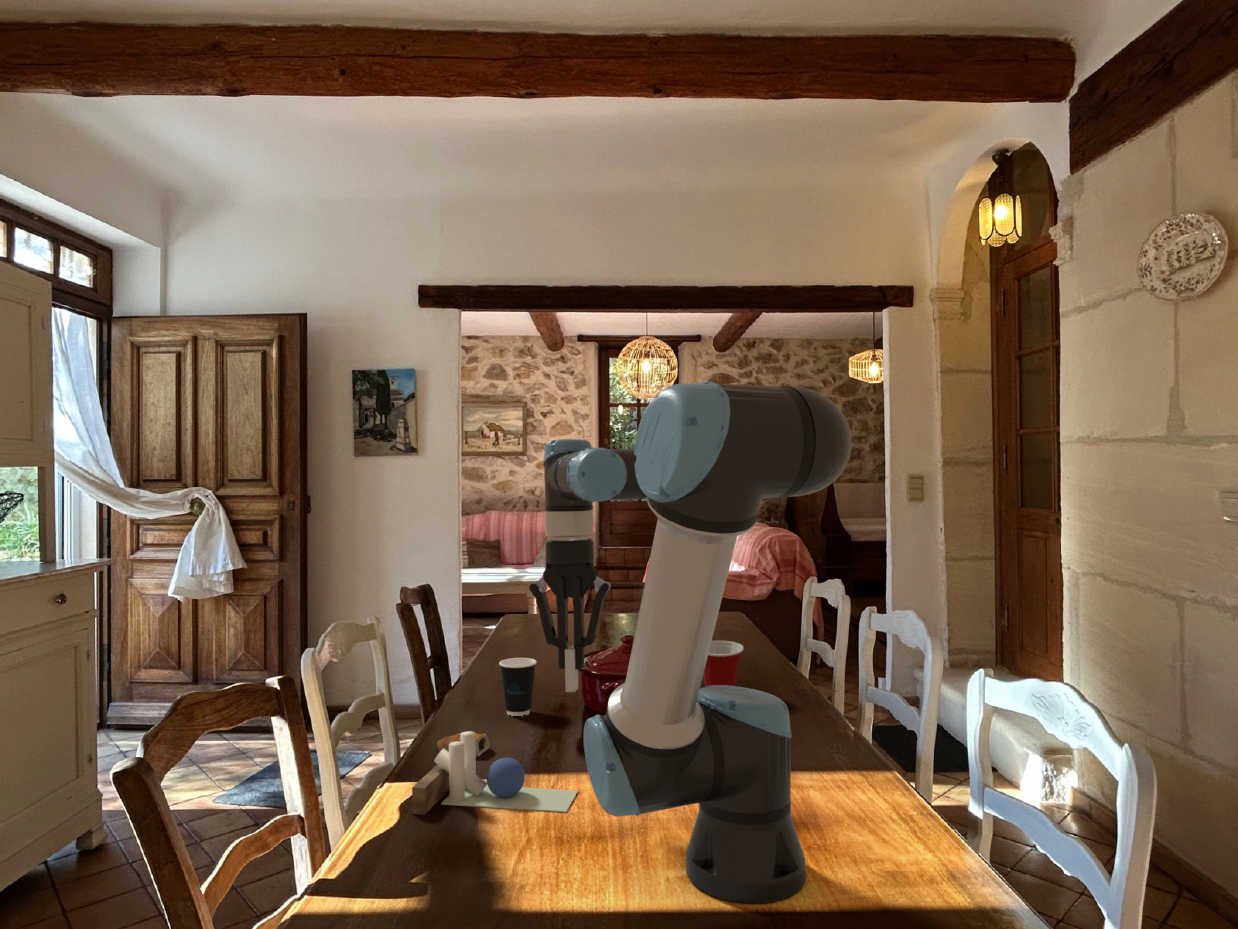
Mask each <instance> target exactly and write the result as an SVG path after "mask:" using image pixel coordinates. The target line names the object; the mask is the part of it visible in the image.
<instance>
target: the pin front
mask: <svg viewBox="0 0 1238 929" xmlns="http://www.w3.org/2000/svg"><path fill="white" fill-rule="evenodd" d="M433 761H434V763H436V765H437V764H438V765H439V766H440V767H442V768H443V769H444V770H445V771H447V772H448V773H449V752H448V751H446V750H445V749H442V750H441V751H440V750H439V753H437V755H436V756H435V758H434V759H433ZM486 785H487V781H485V780H483V779H482V778H481V777H480V776H479V775H478V774H475V773H474V772H472V771H471V770H470V769H469V768H467V767H466V766H465V787H466V788H467V789H469V790H470V791H471V792H472V793H474V794H475V795H476V796H477V797H478V796H479V795H480V793H481V792H482V791H483V789H484V788H485V787H486Z"/></svg>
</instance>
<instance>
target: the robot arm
mask: <svg viewBox="0 0 1238 929" xmlns="http://www.w3.org/2000/svg"><path fill="white" fill-rule="evenodd" d="M637 428H638V429H637V432H636V437H635V442H634V448H633V449H629V448H627V449H624V448H621V449H620V448H619V449H616V448H613V449H612V448H611V449H609V448H605V447H592V444H591V442H590V441H589V440H586V439H579V438H578V439H577V438H573V439H571V438H569V439H568V438H567V439H566V438H565V439H562V438H561V439H553V440H548V441H547V442H546V443H545V445H544V452H543V453H544V455H543V462H542V465H543V471H544V473H543V474H544V508H545V509H544V515H545V516H544V527H545V529H544V533H545V534H544V535H545V536H546V537H547V538H548V539H547V540H546V541H545V569H544V571H543V574H542V577H541V578H539V579H538V580H537V581H534V582H532V583H530V584H529V586H528V588H529V591H530V592H531V594H532V595H533V597H534V598H535V602H536V605H537V609H538V613H539V619H540V620H541V622H540V623H541V626H542V630H543V634H544V638H545V641H546V642H545V643H546V644H547V645H550V646H551V645H552V646H554V647H556V648H557V650H558V668H559V669H560V670H564V671H565V672H564V674H565V678H564V680H565V682H564V683H565V693H576V691H577V690H578V689H579V670H583V668H584V666H585V647H587V646H591V645H592V644H594V643H595V641H596V639H597V634H598V630H599V626H600V621H601V617H602V612H603V608H604V603H605V599H606V598H605V597H606V596H607V594H608V593H609V591H610V590H611V587H612V583H611V582H610V581H605V580H604V579H603V578H600V576H598V572H597V570H596V567H595V558H594V555H595V554H594V553H595V552H594V551H595V550H594V546H595V545H594V541H593V539H592V538H590V537H591V536H593V535H594V505H593V504H594V503H595V502H606V501H630V500H647V505H648V508H649V509H650V510H651V511H652V512H653V513H654V515H655V516H656V518H657V522H656V527H655V532H654V536H653V541H652V545H651V552H650V556H649V561H648V562H649V563H648V566H647V572H646V576H645V582H644V586H643V591H642V597H641V602H640V607H639V611H638V617H637V621H636V626H635V631H634V637H633V641H632V647H631V651H630V657H629V662H628V667H627V673H626V677H625V681H624V683H621V684H620V685H618V686H617V687H616V688H615V689H614V690H613V691H612V693H611V694H610V696H609V698H608V702H607V708H606V713H605V715H601V714H595V716H592V717H589V718H588V719H587V720H586V721H585V723H584V727H583V750H584V756H585V757H584V758H585V763H586V768H587V773H588V776H589V781H590V784H591V788H592V791H593V792H594V796H595V797H596V799H597V801H598V804H599V805H600V806H601V808H602V810H603V811H604V812H605V813H606V814H608V815H611V816H613V817H618V818H619V817H628V816H636V817H638V816H641V815H644V814H649V813H654V812H659V811H663V810H670V809H674V808H680V807H685V806H691V805H696V804H699V805H698V813H697V816H696V820H695V822H694V825H693V829H692V832H691V835H690V839H689V842H688V844H687V848H686V852H685V872H686V876H687V878H688V879H689V881H690V882H691V883H692V884H693V886H695V887H696V888H697V889H698V890H700V891H702V892H703V893H706V894H708V895H710V896H713V897H715V898H718V899H722V900H725V901H730V902H733V903H734V902H735V903H743V904H763V903H773V902H777V901H781V900H785V899H787V898H790V897H792V896H794V895H795V894H797V893H798V892H800V890H801V889H802V888H803V887H804V886H805V884H806V881H807V880H806V876H807V874H806V870H807V869H806V867H807V866H806V857H805V854H804V852H803V847H802V845H801V842H800V839H799V835H798V833H797V830H796V826H795V823H794V821H793V817H792V809H791V808H792V807H791V804H792V801H791V800H792V799H791V798H792V797H791V796H792V795H791V793H792V790H791V789H792V787H791V785H792V784H791V782H792V781H791V780H792V779H791V775H792V774H791V738H792V737H793V734H792V731H791V730H792V728H791V721H790V712H789V708H788V705H787V704H786V703H785V702H784V701H783V700H782V699H781V698H779V697H777V696H776V695H774V694H771V693H769V692H766V691H762V690H757V689H754V688H748V687H743V686H736V685H735V686H727V685H711V686H705V685H704V687H701V685H702V680H703V673H704V669H705V665H706V661H707V657H708V653H709V649H710V645H711V641H713V636H714V632H715V627H716V625H717V620H718V616H719V611H720V609H721V608H720V607H721V603H722V599H723V597H724V596H723V595H724V592H725V588H726V583H727V580H728V576H729V573H730V572H729V571H730V568H731V563H732V558H733V555H734V551H735V547H736V543H737V539H738V537H739V536H740V535H744V534H745V533H748V532H750V531H751V530H753V528H754V527H755V525H756V523H757V519H758V516H759V512H760V509H761V504H762V501H763V500H764V499H773V498H791V497H793V498H794V497H802V496H806V495H811V494H814V493H817V492H819V491H821V490H824V489H825V488H827V487H829V486H830V485H831V484H833V483H834V482H835V481H836V480H837V479H838V478H839V477H840V476H841V475H842V474H843V472H844V471H845V469H846V467H847V466H848V462H849V460H850V457H851V452H852V433H851V430H850V429H851V428H850V425H849V423H848V420H847V418H846V417H845V414H844V413H843V412H842V410H841V409H840V408H839V407H838V406H837V405H836V403H835V402H833V401H832V400H831V399H829V398H828V397H827V396H825V395H823V394H822V393H820V392H818V391H816V390H813V389H811V388H806V387H801V386H797V385H796V386H795V385H781V386H780V385H778V386H777V385H762V384H761V385H760V384H758V385H757V384H735V383H732V384H731V383H716V382H714V381H701V382H700V381H699V382H696V383H677V384H672V385H669V386H667V387H665V388H663V389H662V390H661V391H660V392H658V394H656V395H655V396H654V397H653V398H652V399H651V401H650V402H649V404H648V405H647V406H646V408H645V410H644V412H643V415H642V417H641V420H640V422H639V425H638V427H637ZM593 585H594V589H593V590H594V592H595V596H594V597H595V598H594V599H593V600H594V601H593V603H592V608H591V609H592V610H591V614H590V617H589V618H590V619H589V623H588V628H587V632H586V636H585V596H586V595H587V593H588V592H589V590H590V589H591V588H592V586H593ZM547 586H548V588H549V589H550V590H551V592H552V593H553V594H554V596H555V598H556V599H555V600H556V601H555V602H556V613H557V614H556V615H557V617H556V619H557V621H556V622H557V626H556V628H557V630H556V628H555V623H554V619H553V616H552V611H551V608H550V604H549V599H548V597H547V593H546V592H547ZM569 598H572V606H573V609H572V610H573V645H571V646H570V645H569V643H570V641H569ZM556 632H557V633H556Z"/></svg>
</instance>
